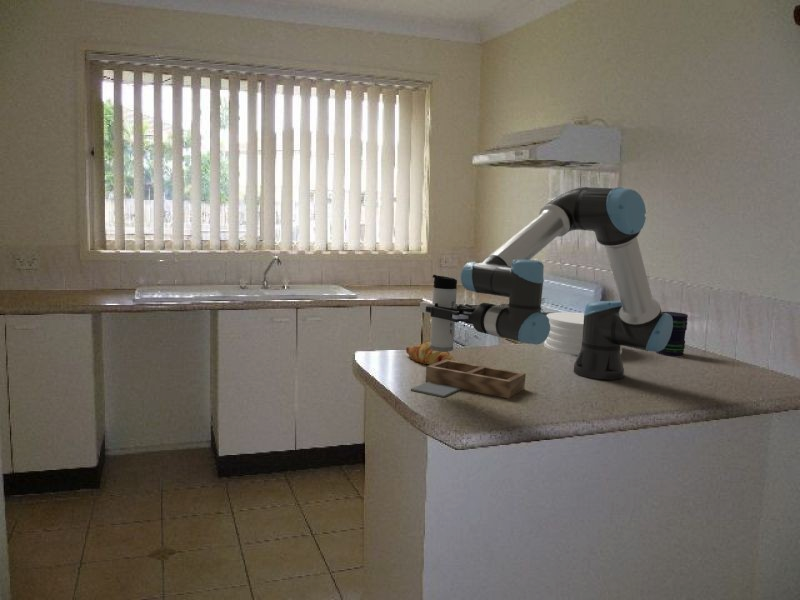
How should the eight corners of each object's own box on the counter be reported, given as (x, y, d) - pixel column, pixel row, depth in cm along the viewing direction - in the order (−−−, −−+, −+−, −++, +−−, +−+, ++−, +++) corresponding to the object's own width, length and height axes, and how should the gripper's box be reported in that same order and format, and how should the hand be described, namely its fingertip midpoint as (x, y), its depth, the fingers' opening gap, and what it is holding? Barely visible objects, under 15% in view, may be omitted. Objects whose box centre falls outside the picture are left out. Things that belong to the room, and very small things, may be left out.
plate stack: (637, 357, 250) (640, 325, 249) (565, 357, 243) (568, 325, 242) (596, 341, 277) (599, 312, 276) (531, 341, 270) (533, 311, 269)
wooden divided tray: (524, 389, 196) (525, 373, 196) (508, 398, 186) (509, 381, 185) (444, 374, 209) (445, 359, 208) (425, 381, 199) (426, 366, 198)
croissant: (460, 378, 219) (469, 355, 221) (442, 367, 212) (452, 343, 213) (411, 364, 233) (420, 342, 235) (393, 353, 226) (402, 330, 228)
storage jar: (654, 354, 256) (658, 314, 254) (655, 349, 265) (659, 310, 263) (684, 357, 253) (688, 317, 250) (684, 353, 262) (688, 313, 260)
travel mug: (427, 346, 191) (431, 273, 189) (451, 347, 192) (455, 274, 189) (430, 351, 185) (434, 276, 182) (454, 352, 186) (459, 277, 183)
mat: (460, 389, 192) (460, 388, 192) (443, 397, 183) (443, 395, 183) (428, 383, 197) (428, 381, 197) (410, 390, 188) (410, 388, 188)
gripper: (519, 302, 179) (456, 291, 197) (466, 306, 167) (404, 293, 184) (517, 331, 180) (455, 317, 198) (464, 337, 168) (402, 321, 185)
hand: (430, 306), depth 191 cm, fingers closed on travel mug, 6 cm apart
